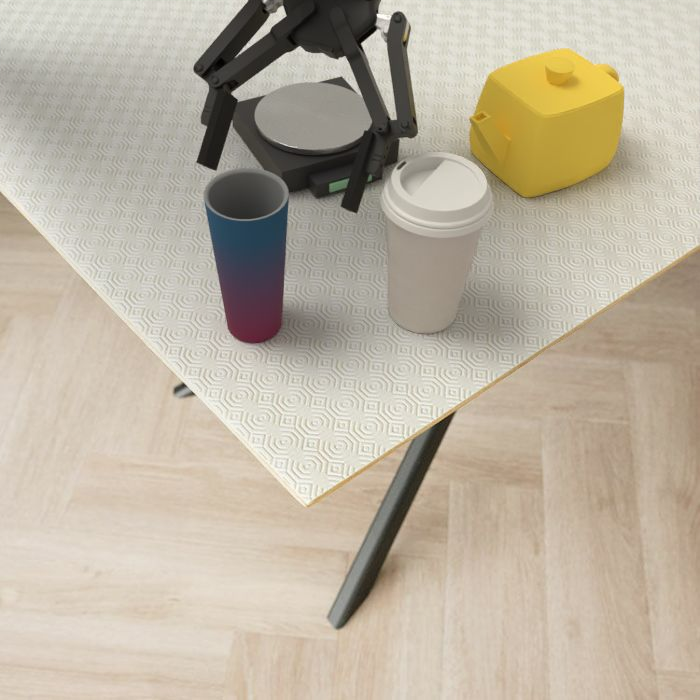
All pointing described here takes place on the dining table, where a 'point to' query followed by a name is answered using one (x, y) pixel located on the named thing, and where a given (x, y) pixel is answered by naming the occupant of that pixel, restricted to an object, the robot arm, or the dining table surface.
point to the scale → (298, 169)
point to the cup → (249, 248)
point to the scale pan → (312, 118)
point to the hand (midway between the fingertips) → (275, 188)
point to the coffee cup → (432, 236)
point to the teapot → (548, 121)
